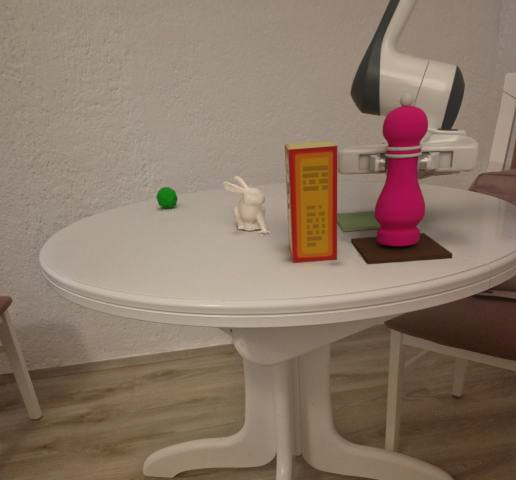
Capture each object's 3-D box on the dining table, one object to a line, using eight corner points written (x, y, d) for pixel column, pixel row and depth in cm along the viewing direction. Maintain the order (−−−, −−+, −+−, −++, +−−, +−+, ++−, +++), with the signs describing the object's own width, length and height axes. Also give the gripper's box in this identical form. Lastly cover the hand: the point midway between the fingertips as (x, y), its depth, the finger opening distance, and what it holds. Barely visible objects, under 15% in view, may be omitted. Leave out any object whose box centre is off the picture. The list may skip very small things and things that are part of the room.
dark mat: (423, 236, 79) (424, 232, 79) (452, 257, 68) (452, 253, 68) (351, 242, 79) (351, 238, 79) (367, 264, 68) (368, 260, 68)
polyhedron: (171, 210, 114) (167, 189, 111) (154, 210, 116) (150, 189, 114) (182, 206, 118) (179, 185, 115) (166, 205, 120) (163, 185, 117)
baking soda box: (289, 245, 80) (284, 141, 73) (328, 242, 80) (327, 138, 72) (293, 262, 71) (288, 146, 64) (337, 259, 71) (337, 143, 64)
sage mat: (392, 212, 96) (392, 209, 96) (410, 226, 85) (410, 223, 85) (332, 217, 96) (332, 214, 96) (343, 231, 85) (343, 228, 85)
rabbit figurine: (270, 234, 87) (267, 178, 83) (228, 237, 87) (223, 182, 83) (263, 220, 98) (260, 170, 94) (227, 223, 98) (222, 173, 93)
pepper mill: (429, 236, 74) (442, 90, 65) (413, 249, 69) (426, 92, 59) (383, 232, 78) (390, 93, 68) (365, 244, 72) (370, 95, 63)
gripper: (343, 135, 81) (328, 144, 69) (476, 129, 74) (484, 137, 63) (343, 175, 83) (329, 189, 72) (470, 171, 77) (477, 187, 66)
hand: (402, 165), depth 67 cm, fingers closed on pepper mill, 5 cm apart
